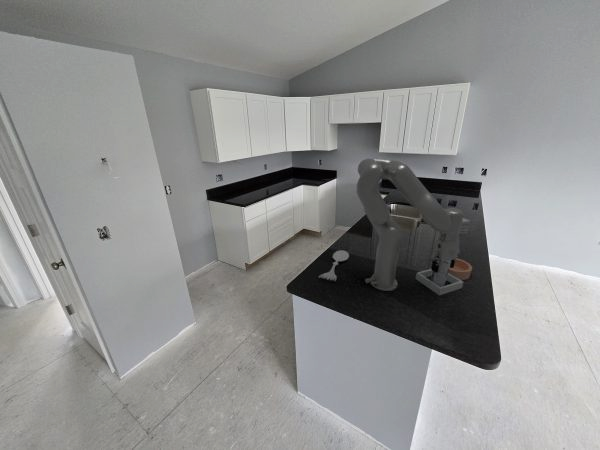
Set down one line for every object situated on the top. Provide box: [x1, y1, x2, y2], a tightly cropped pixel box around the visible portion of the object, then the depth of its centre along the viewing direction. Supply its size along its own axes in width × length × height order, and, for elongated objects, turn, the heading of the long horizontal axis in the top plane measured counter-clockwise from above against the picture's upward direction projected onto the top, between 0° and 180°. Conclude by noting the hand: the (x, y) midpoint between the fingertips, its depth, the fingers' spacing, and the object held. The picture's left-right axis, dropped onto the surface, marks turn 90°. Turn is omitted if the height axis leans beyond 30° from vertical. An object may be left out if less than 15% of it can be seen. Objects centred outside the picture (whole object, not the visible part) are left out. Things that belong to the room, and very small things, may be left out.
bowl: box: [448, 257, 473, 281], centre depth 130 cm, size 14×14×4 cm
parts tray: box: [415, 268, 464, 296], centre depth 121 cm, size 14×14×4 cm
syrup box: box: [430, 257, 451, 287], centre depth 119 cm, size 6×6×14 cm
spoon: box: [318, 250, 350, 282], centre depth 136 cm, size 9×32×4 cm, turn 157°
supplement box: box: [460, 217, 472, 235], centre depth 179 cm, size 17×13×9 cm
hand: (442, 269), depth 118 cm, fingers open, 9 cm apart
